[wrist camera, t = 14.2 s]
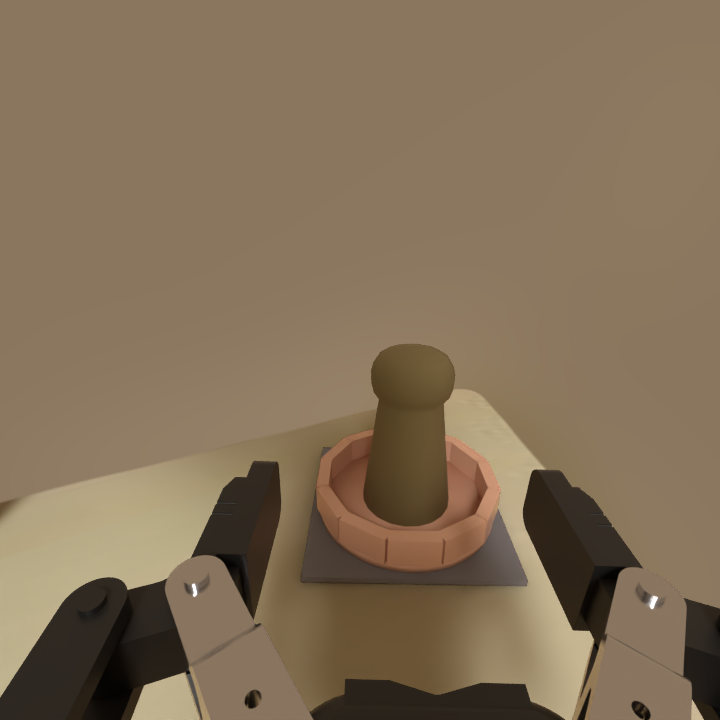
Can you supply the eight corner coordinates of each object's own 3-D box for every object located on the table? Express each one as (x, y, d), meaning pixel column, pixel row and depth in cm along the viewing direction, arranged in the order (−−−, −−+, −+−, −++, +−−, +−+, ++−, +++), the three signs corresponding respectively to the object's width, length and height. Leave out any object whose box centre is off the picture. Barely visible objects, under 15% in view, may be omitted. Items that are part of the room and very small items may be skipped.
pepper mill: (398, 458, 33) (405, 328, 29) (465, 494, 30) (483, 350, 25) (345, 495, 29) (344, 350, 25) (414, 542, 25) (426, 379, 21)
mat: (301, 581, 24) (300, 576, 24) (323, 451, 36) (323, 447, 36) (526, 585, 24) (527, 580, 24) (473, 453, 36) (473, 449, 36)
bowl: (308, 571, 24) (307, 539, 23) (327, 450, 35) (326, 425, 35) (518, 574, 24) (524, 543, 23) (470, 452, 35) (473, 427, 34)
